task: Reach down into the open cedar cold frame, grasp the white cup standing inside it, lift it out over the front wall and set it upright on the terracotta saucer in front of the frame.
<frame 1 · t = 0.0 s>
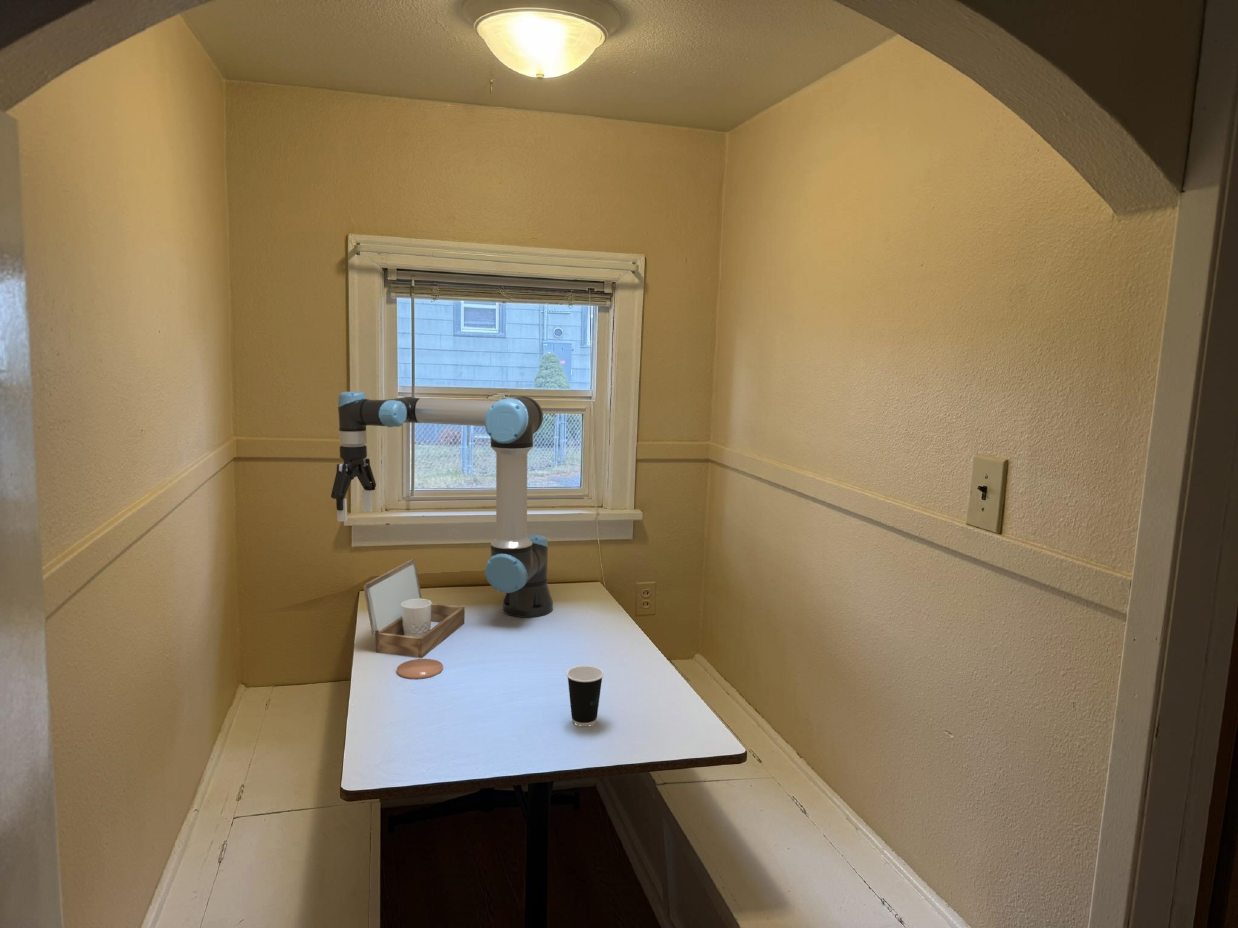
hand: (355, 516, 234), 28 cm above the table, fingers open, 13 cm apart
white cup: (417, 639, 215), resting in cold frame
dixie cup: (584, 722, 170), on the table
saucer: (419, 669, 194), on the table
cold frame: (422, 637, 216), on the table
lid: (394, 594, 216), point 11 cm above the table, hinge at 100.0°, touching cold frame
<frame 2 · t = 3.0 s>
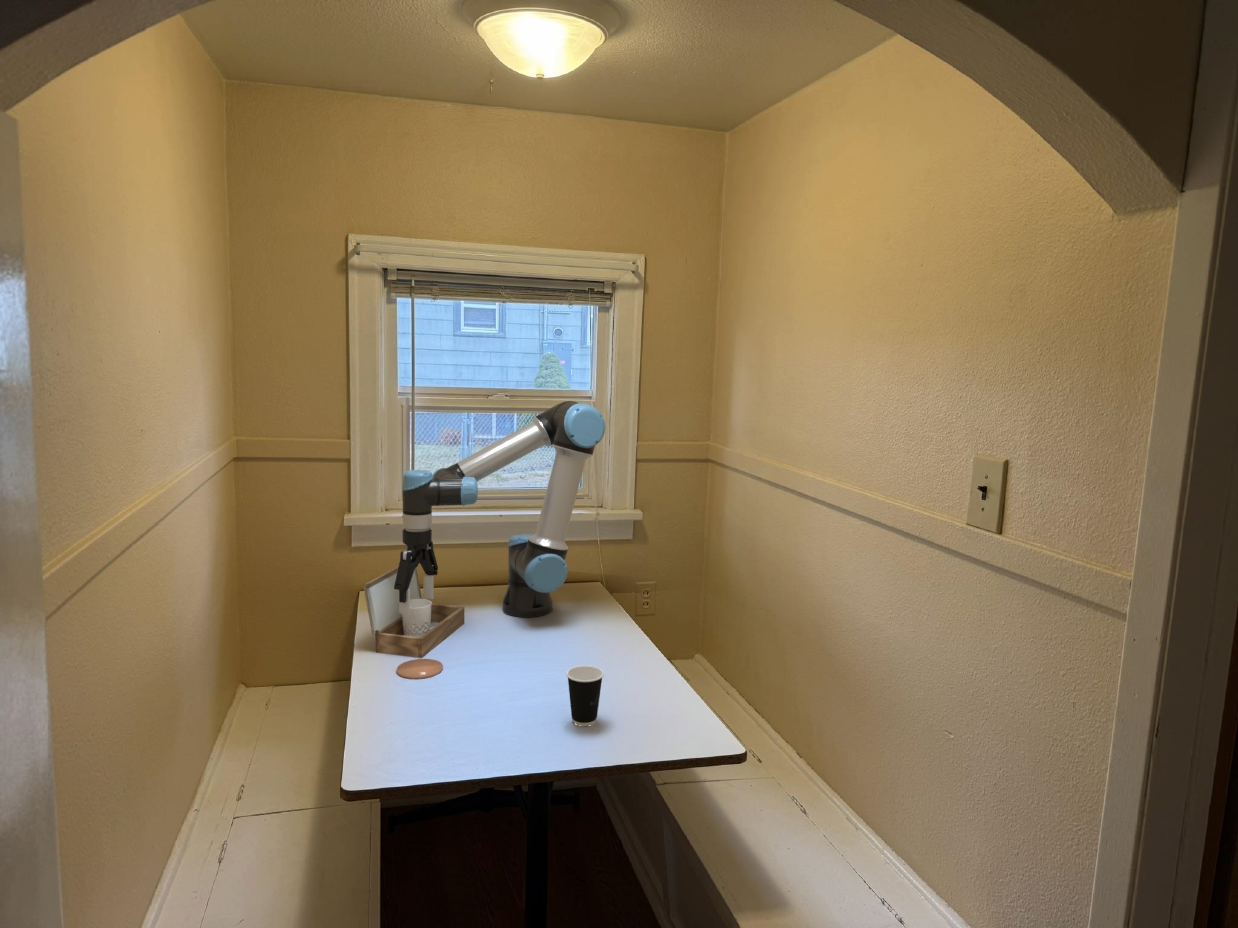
hand: (416, 605, 213), 9 cm above the table, fingers open, 13 cm apart
nothing on the table moved.
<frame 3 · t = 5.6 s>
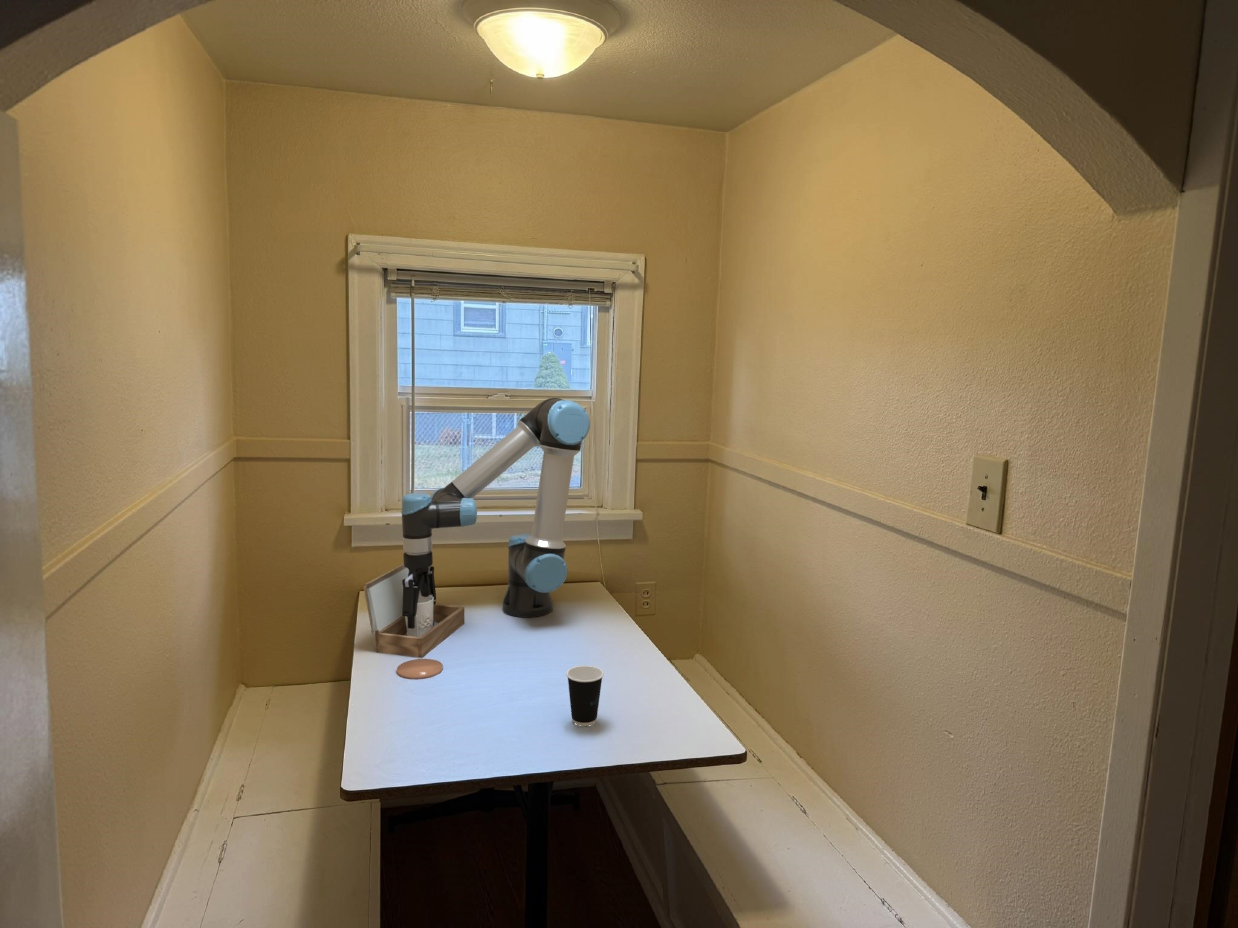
hand: (420, 633, 215), 1 cm above the table, fingers closed on white cup, 8 cm apart
white cup: (420, 634, 215), point 1 cm above the table, touching gripper
everything else where it was.
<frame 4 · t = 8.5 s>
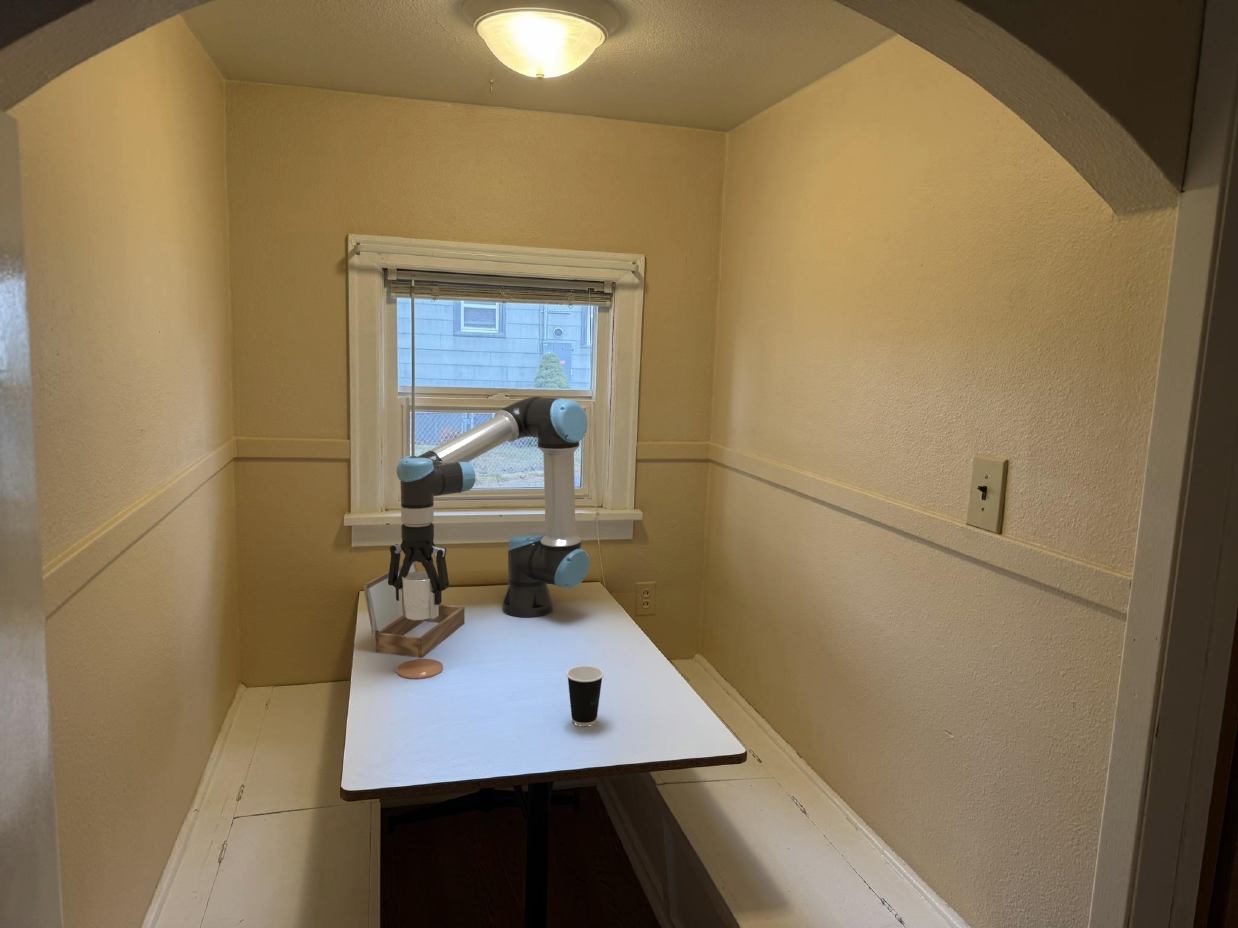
hand: (418, 615, 192), 14 cm above the table, fingers closed on white cup, 8 cm apart
white cup: (419, 616, 193), point 13 cm above the table, touching gripper
everything else where it was.
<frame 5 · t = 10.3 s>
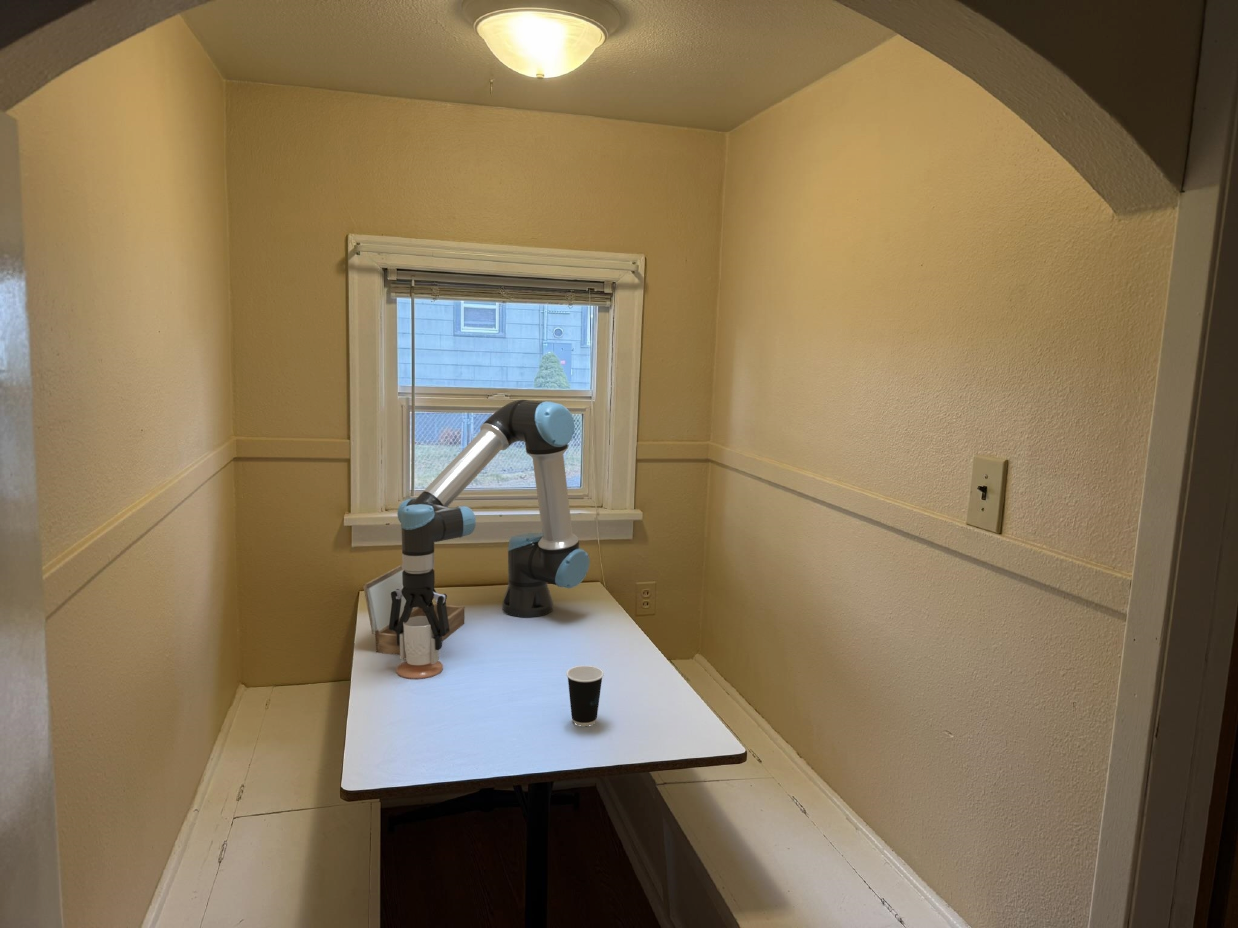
hand: (419, 659, 194), 3 cm above the table, fingers closed on white cup, 8 cm apart
white cup: (420, 661, 194), point 2 cm above the table, touching gripper
everything else where it was.
when the fingers open (2 cm above the table, at t = 11.4 s): white cup moves 1 cm, resting on saucer.
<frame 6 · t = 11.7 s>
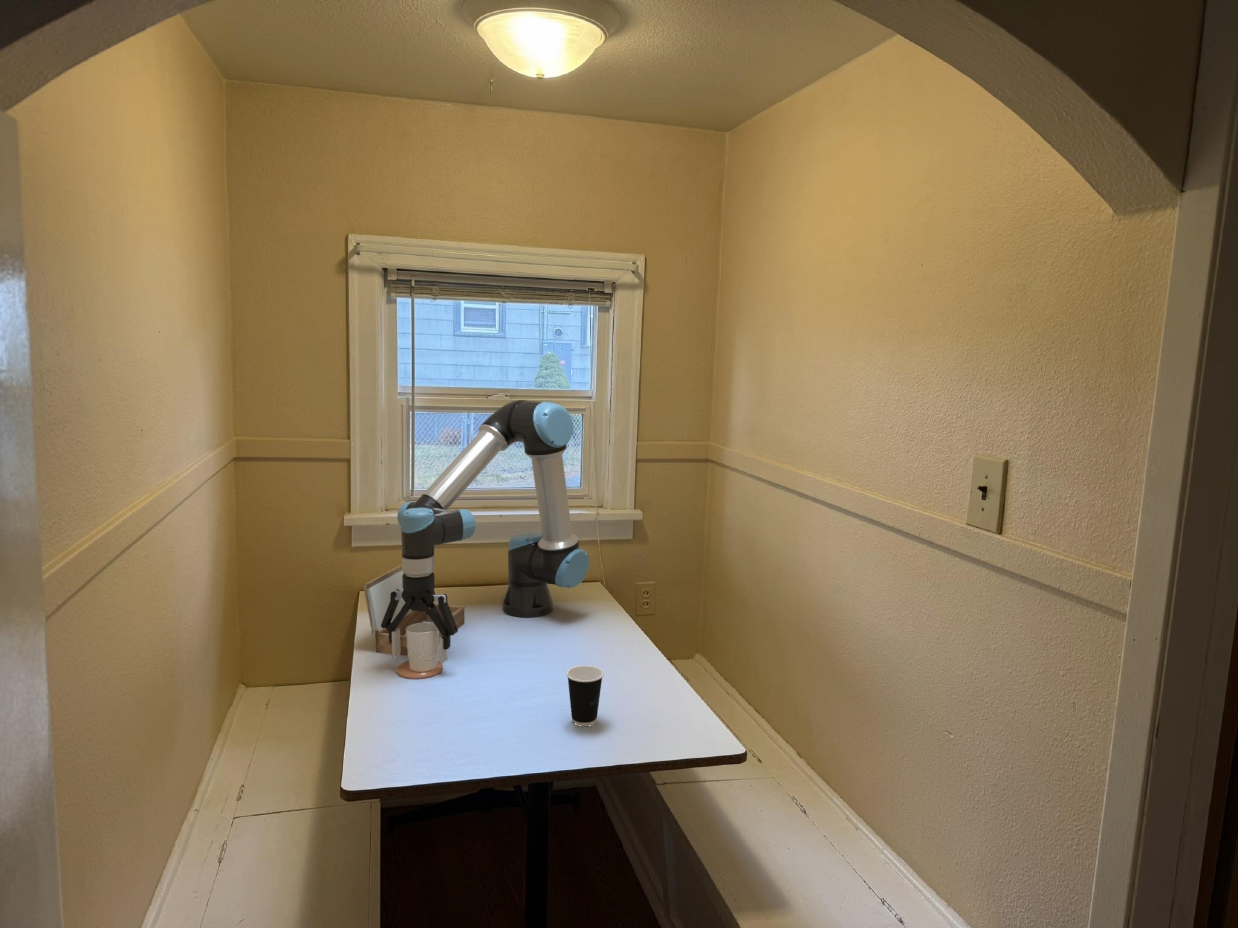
hand: (419, 658, 194), 3 cm above the table, fingers open, 12 cm apart
white cup: (423, 667, 195), resting on saucer
everything else where it was.
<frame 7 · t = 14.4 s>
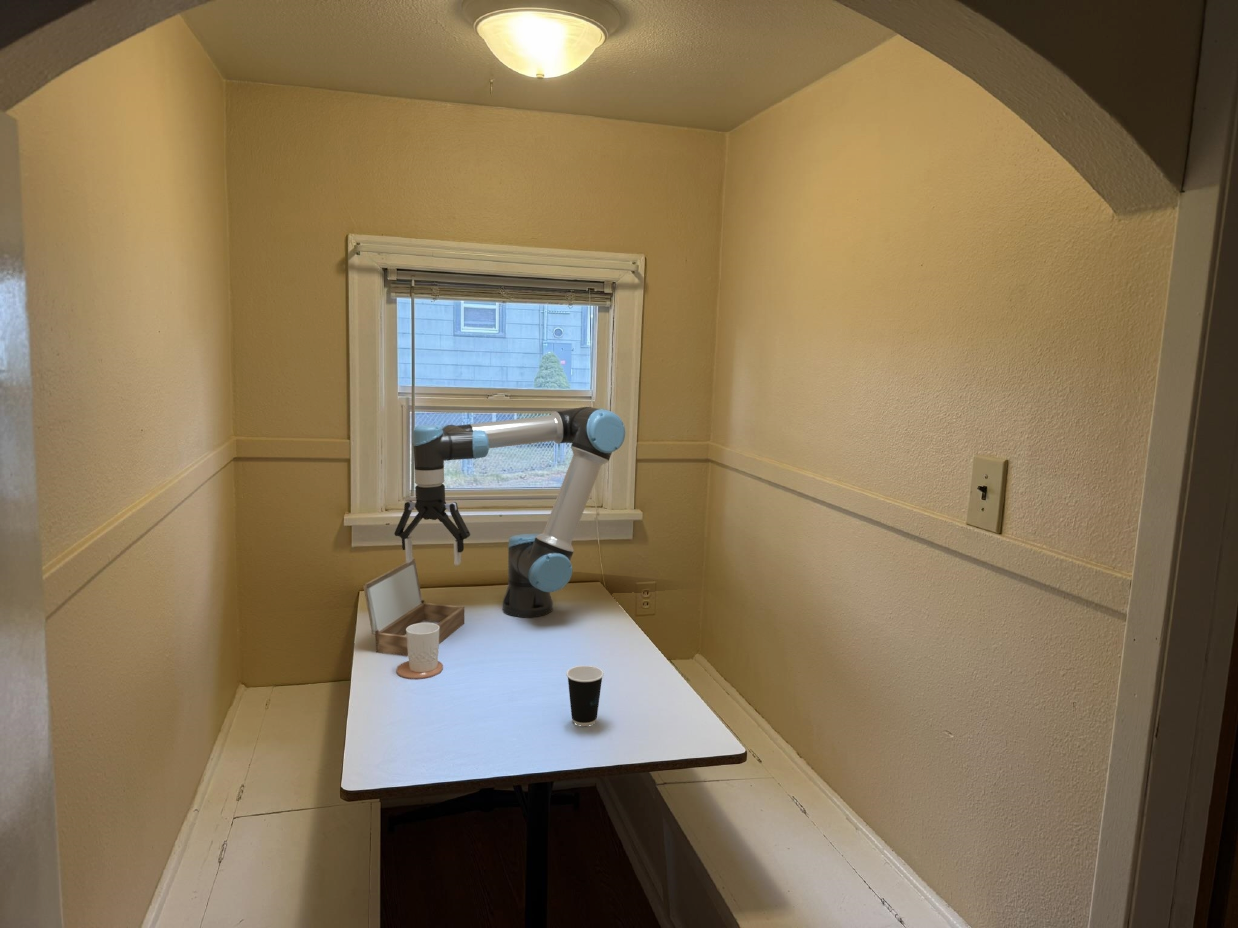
hand: (433, 562, 211), 21 cm above the table, fingers open, 13 cm apart
nothing on the table moved.
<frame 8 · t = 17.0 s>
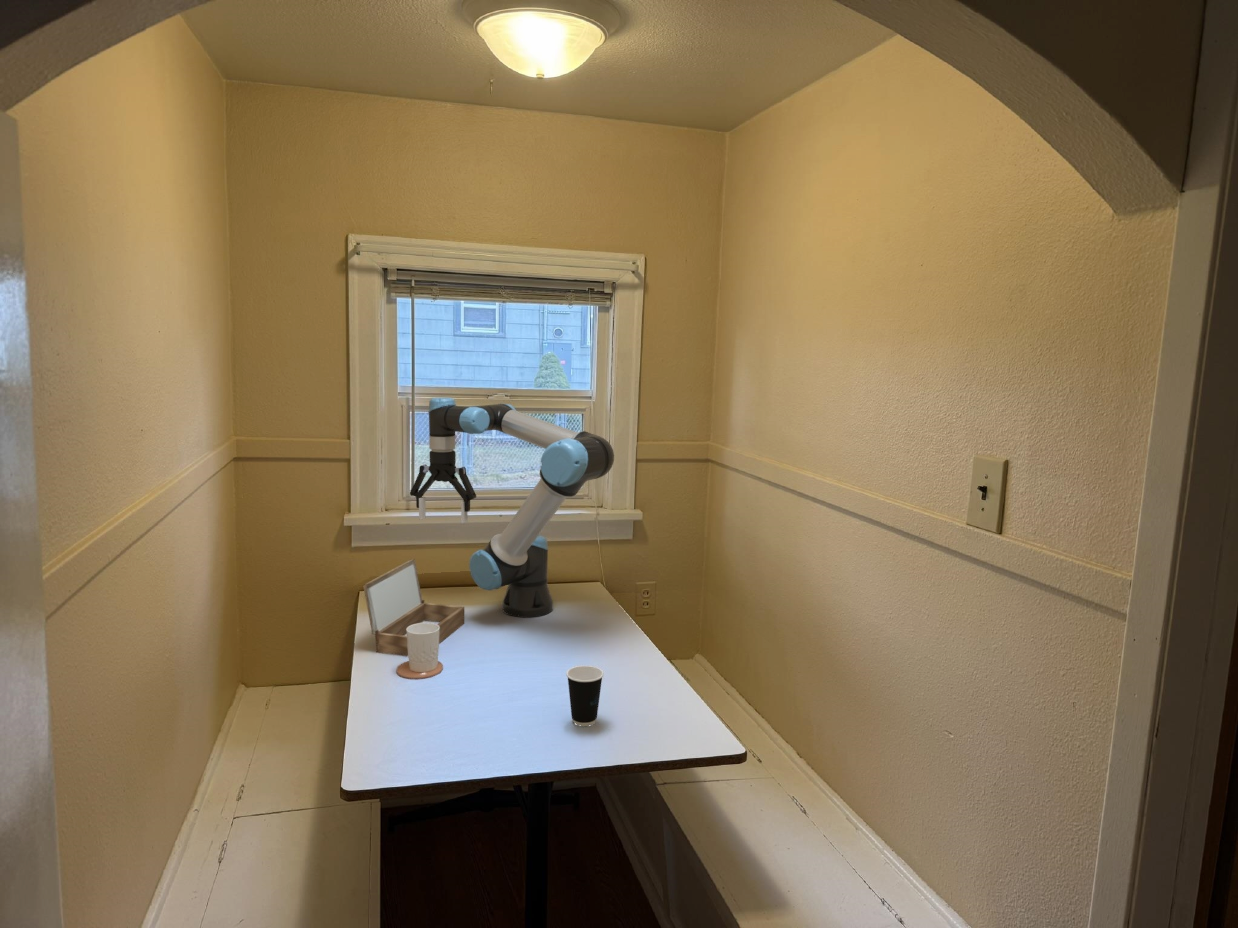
hand: (443, 520, 237), 27 cm above the table, fingers open, 13 cm apart
nothing on the table moved.
at the end: white cup inside the target area on the saucer (0.9 cm from its centre), point 0.4 cm above the saucer's base; white cup tilted 0°; the gripper is holding nothing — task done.
